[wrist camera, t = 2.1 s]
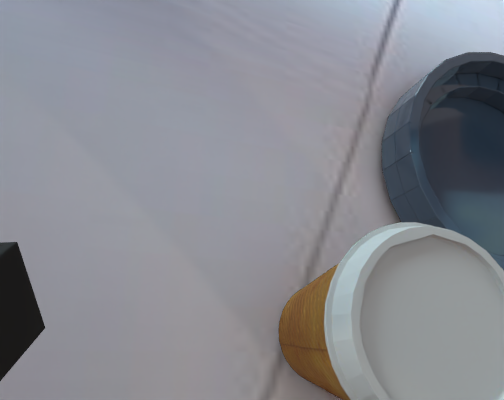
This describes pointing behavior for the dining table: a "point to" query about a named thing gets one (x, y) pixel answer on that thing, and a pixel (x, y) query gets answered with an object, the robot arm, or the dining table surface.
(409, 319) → the disposable coffee cup
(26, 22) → the dining table surface
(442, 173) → the bowl
